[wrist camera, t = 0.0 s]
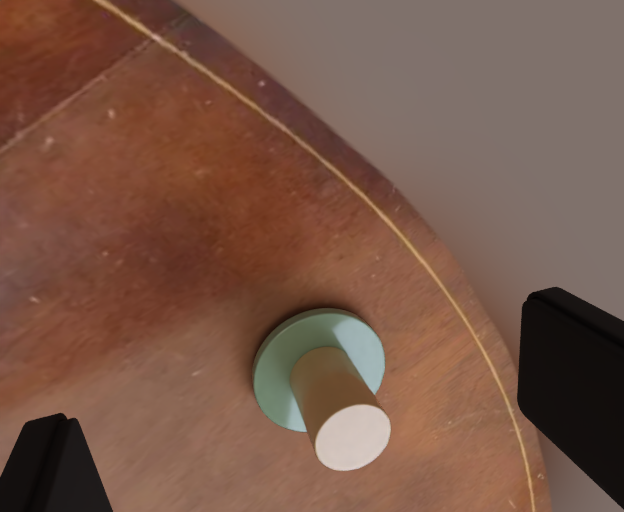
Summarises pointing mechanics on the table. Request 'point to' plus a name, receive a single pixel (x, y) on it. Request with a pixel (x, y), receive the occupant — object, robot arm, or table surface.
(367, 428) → the cylinder on green disc
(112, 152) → the table surface
